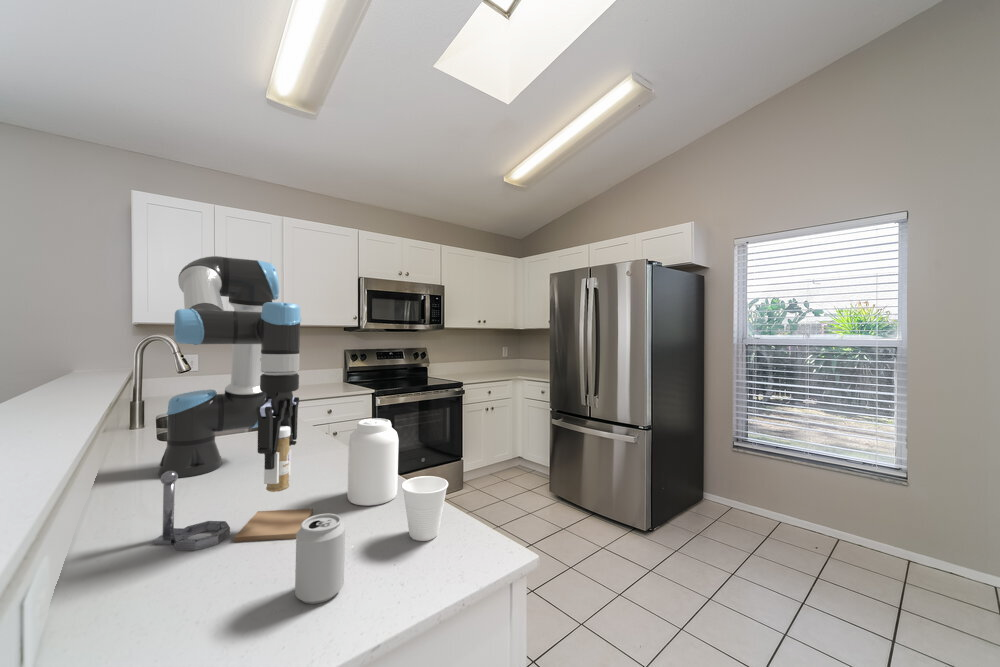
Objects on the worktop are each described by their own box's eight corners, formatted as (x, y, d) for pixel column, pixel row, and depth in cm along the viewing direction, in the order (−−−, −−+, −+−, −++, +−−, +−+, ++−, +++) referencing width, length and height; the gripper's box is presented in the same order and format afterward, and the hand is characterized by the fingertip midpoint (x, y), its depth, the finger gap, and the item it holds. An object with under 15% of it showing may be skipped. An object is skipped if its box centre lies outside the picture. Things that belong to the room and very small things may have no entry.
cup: (454, 528, 91) (456, 479, 91) (433, 550, 82) (434, 496, 82) (415, 520, 95) (416, 473, 95) (390, 541, 85) (392, 488, 85)
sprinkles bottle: (290, 490, 90) (291, 428, 89) (266, 494, 87) (267, 430, 87) (287, 483, 93) (289, 424, 93) (264, 487, 91) (266, 426, 91)
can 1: (305, 579, 72) (306, 510, 72) (349, 577, 72) (350, 510, 72) (286, 607, 64) (288, 531, 64) (335, 606, 65) (337, 531, 65)
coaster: (257, 515, 95) (257, 511, 95) (312, 512, 97) (312, 508, 97) (234, 542, 83) (234, 537, 83) (297, 538, 85) (297, 533, 85)
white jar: (350, 510, 99) (352, 428, 99) (344, 491, 110) (346, 417, 110) (402, 501, 105) (404, 423, 105) (391, 484, 116) (393, 414, 116)
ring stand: (178, 527, 89) (179, 463, 88) (237, 528, 89) (239, 465, 89) (142, 549, 80) (143, 478, 80) (208, 551, 80) (210, 480, 80)
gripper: (283, 368, 99) (281, 465, 99) (237, 376, 81) (235, 494, 81) (314, 369, 99) (312, 466, 99) (275, 377, 81) (273, 495, 81)
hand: (277, 478), depth 90 cm, fingers closed on sprinkles bottle, 4 cm apart
